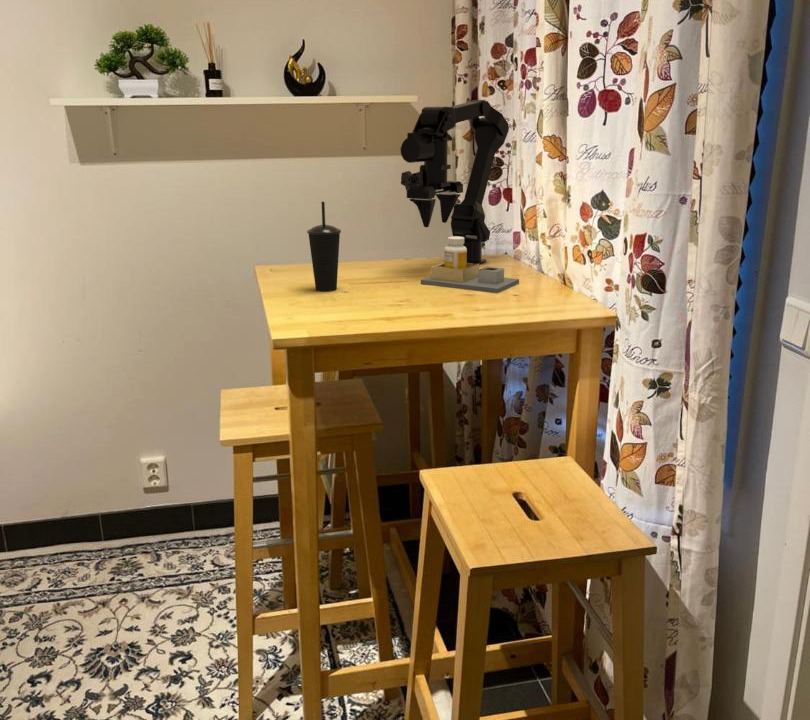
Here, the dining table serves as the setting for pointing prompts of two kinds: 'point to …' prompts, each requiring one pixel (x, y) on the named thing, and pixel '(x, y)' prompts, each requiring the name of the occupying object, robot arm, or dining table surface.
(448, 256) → the supplement bottle
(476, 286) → the fitting board
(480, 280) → the steel collar
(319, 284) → the drinking cup
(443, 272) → the square wooden frame
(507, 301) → the dining table surface
